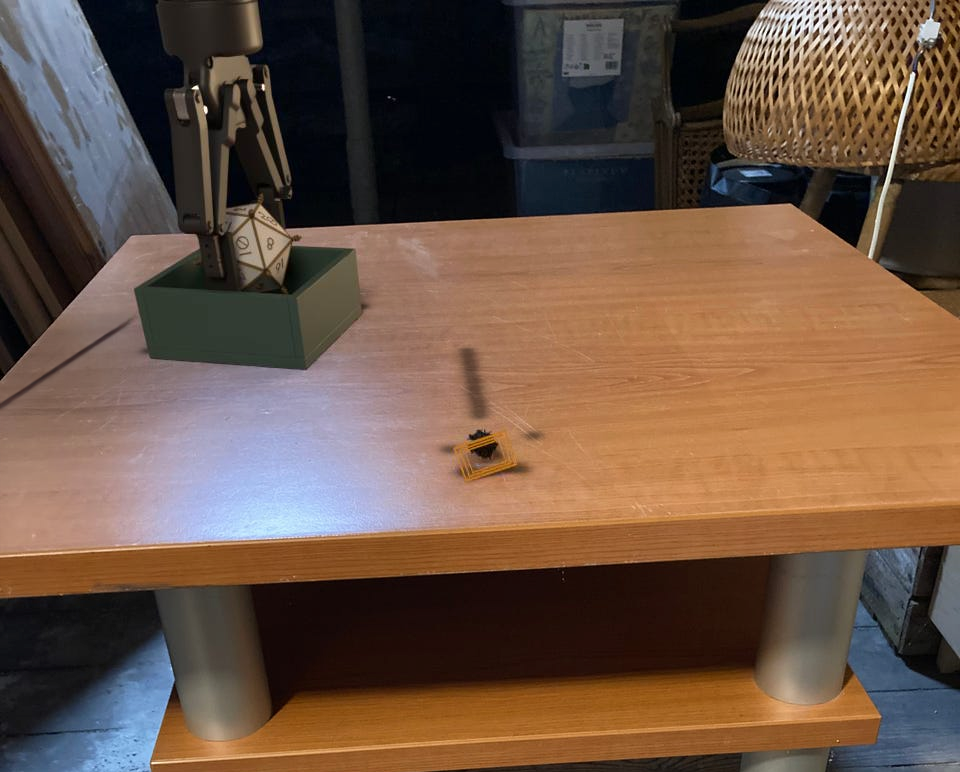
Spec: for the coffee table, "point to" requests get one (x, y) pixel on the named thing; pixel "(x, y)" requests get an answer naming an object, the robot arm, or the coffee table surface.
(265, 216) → the game die
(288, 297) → the bin
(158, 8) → the robot arm
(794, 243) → the coffee table surface
